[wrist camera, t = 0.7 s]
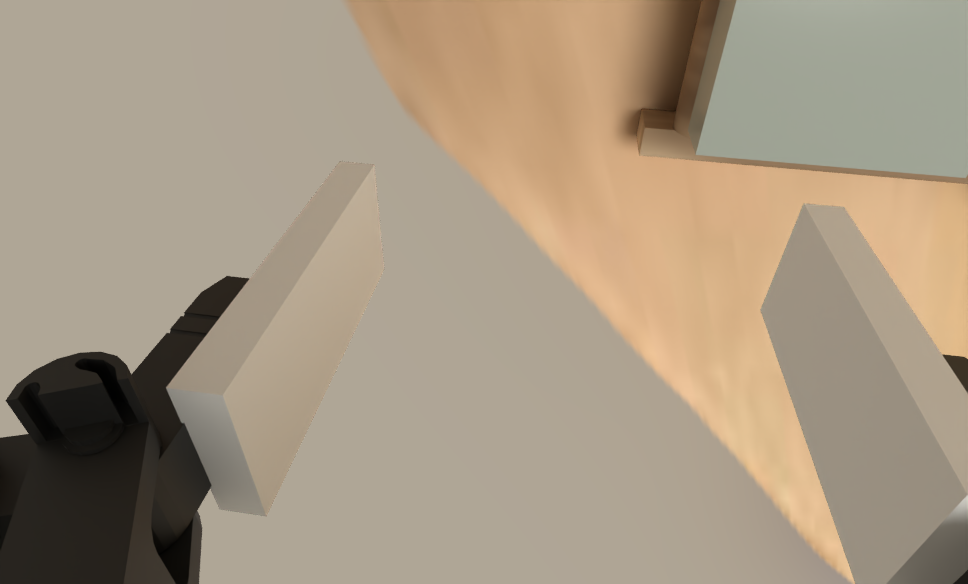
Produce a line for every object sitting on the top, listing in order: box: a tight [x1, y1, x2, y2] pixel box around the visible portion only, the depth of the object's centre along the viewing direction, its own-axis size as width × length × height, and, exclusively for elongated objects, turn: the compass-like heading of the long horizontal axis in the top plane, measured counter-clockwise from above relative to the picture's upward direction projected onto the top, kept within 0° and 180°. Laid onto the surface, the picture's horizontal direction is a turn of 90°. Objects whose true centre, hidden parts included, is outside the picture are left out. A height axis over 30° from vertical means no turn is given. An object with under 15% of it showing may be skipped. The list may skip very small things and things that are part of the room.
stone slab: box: [688, 0, 968, 178], centre depth 26 cm, size 10×12×3 cm
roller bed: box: [636, 0, 968, 184], centre depth 28 cm, size 14×22×4 cm, turn 88°
